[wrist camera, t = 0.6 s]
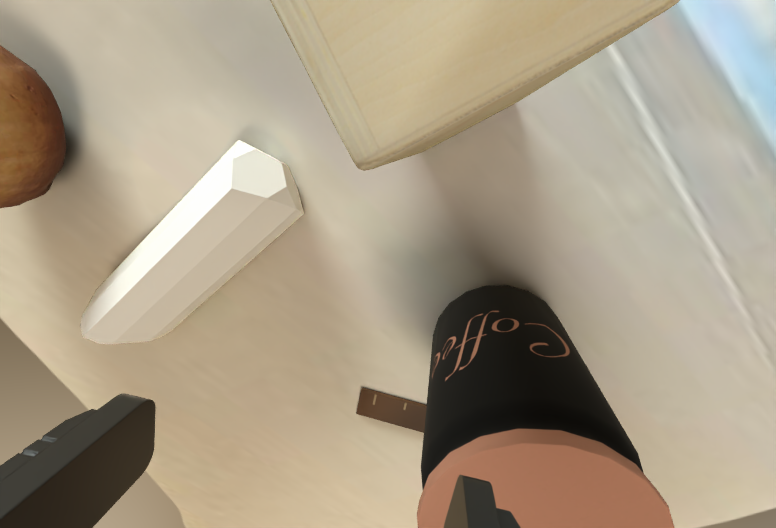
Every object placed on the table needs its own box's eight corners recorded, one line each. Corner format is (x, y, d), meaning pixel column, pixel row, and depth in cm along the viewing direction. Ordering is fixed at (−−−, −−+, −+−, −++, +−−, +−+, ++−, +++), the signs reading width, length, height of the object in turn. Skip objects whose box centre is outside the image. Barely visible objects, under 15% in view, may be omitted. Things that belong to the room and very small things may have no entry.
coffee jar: (551, 269, 30) (675, 431, 14) (566, 381, 33) (682, 629, 16) (422, 290, 33) (391, 452, 16) (446, 393, 36) (441, 622, 19)
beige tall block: (479, -4, 25) (570, -484, 6) (519, 100, 27) (701, 1, 7) (376, 60, 28) (191, -130, 8) (419, 153, 29) (353, 184, 10)
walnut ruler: (514, 428, 36) (514, 432, 35) (504, 452, 37) (505, 456, 36) (362, 387, 37) (361, 389, 37) (357, 411, 38) (355, 414, 38)
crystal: (145, 375, 36) (325, 223, 28) (59, 346, 31) (243, 158, 24) (165, 316, 41) (320, 175, 34) (94, 285, 37) (253, 115, 29)
